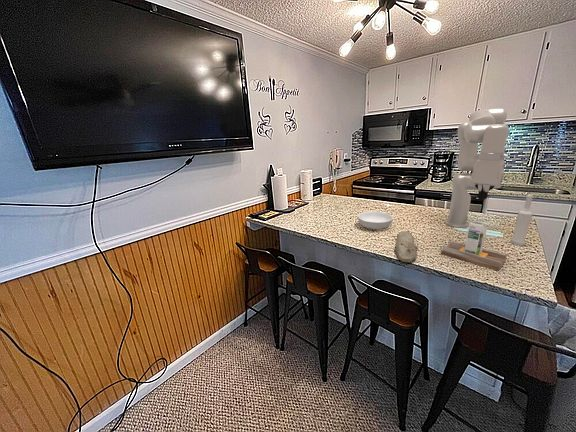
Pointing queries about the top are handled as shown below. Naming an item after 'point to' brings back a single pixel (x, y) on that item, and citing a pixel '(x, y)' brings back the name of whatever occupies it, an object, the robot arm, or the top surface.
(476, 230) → the syrup box
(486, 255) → the orange rectangular panel
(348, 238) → the top surface
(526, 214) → the bottle
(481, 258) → the wooden tray
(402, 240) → the elongated rock
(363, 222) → the serving bowl
